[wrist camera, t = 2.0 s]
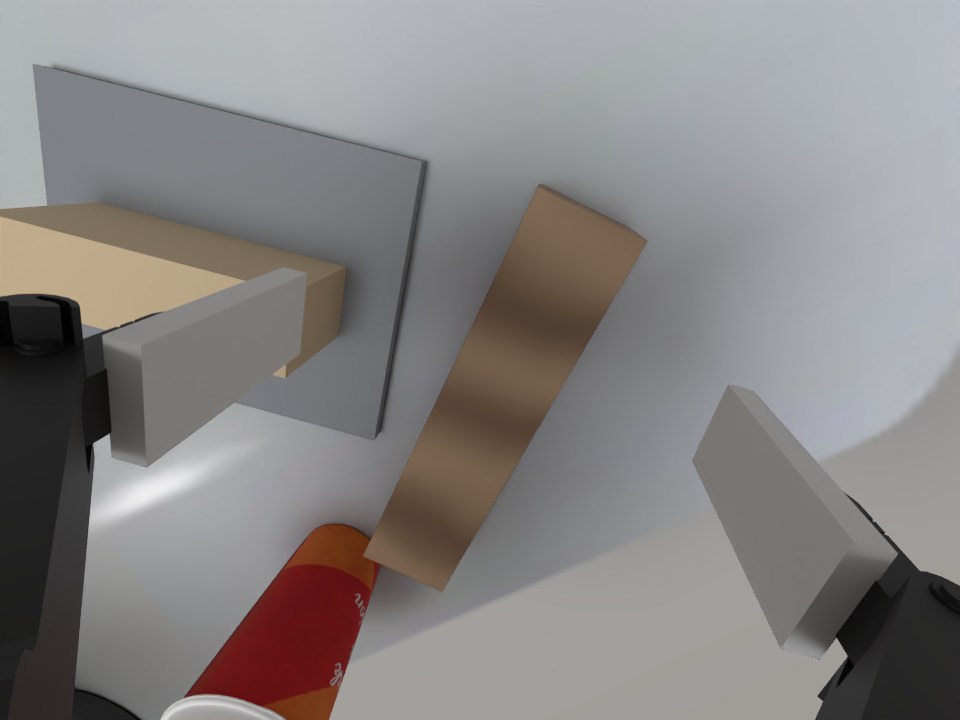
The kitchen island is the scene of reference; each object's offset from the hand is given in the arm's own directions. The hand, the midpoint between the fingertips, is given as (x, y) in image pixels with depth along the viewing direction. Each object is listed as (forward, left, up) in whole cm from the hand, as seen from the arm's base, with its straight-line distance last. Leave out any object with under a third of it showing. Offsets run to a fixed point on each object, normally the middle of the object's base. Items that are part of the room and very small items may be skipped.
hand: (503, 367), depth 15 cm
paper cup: (-22, +7, -12) cm, 26 cm away
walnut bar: (-6, 0, -12) cm, 14 cm away
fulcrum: (-3, +16, -12) cm, 20 cm away
